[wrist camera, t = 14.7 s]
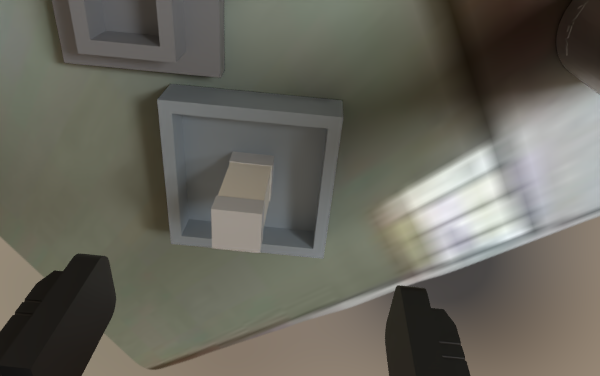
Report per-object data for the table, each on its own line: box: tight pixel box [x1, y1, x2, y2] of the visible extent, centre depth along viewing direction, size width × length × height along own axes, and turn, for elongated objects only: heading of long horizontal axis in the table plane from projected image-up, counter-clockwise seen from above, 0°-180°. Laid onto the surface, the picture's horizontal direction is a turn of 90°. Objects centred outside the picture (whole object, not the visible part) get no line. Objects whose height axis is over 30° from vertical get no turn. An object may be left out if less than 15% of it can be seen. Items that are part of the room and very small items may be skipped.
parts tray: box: [157, 84, 343, 258], centre depth 46 cm, size 16×16×4 cm
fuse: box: [211, 151, 274, 253], centre depth 43 cm, size 4×4×10 cm
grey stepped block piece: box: [52, 0, 225, 78], centre depth 37 cm, size 14×12×5 cm
